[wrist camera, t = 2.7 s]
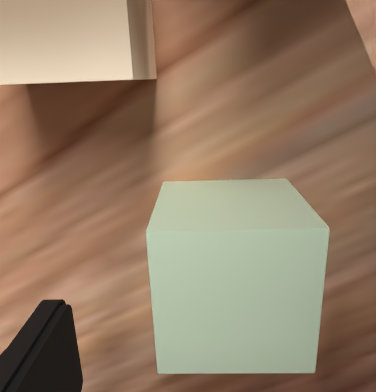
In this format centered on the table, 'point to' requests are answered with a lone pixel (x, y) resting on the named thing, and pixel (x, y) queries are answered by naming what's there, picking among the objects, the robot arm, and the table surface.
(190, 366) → the sage cube
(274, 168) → the table surface
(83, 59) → the maple cube
